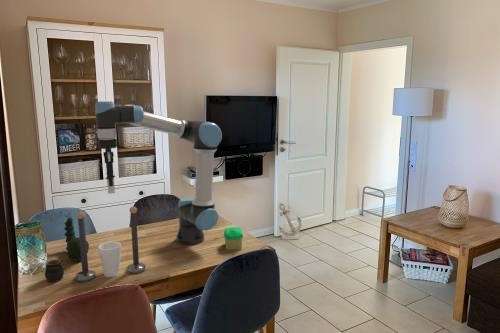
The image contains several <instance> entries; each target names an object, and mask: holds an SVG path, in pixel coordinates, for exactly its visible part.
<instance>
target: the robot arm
mask: <svg viewBox="0 0 500 333" xmlns="http://www.w3.org/2000/svg"><path fill="white" fill-rule="evenodd" d="M94 105H95V107H94V108H95V109H94V110H95V112H94V114H95V120H96V121H95V122H96V130H95V134H97V138H98V139H97V145H98V146H97V147H98V149H100V150H105V151H104V152H103V158H104V164H105V168H106V177H105V180H106V184H107V194H108V195H109V194H115V192H116V189H115V188H116V187H115V179H114V178H116V175H114V162H115V161H114V151H112V149H116V148H118V139H117V137H118V134H117V127H116V126H117V125H118V124H119V125H120V124H127V125H131V126H135V127H138V128H139V127H141V128H144V129H149V130H153V131H157V132H160V133H161V132H162V133H165V134H169V135H173V136H175V137H176V138H178V139H182V140H183V141H184V140H185V141H187V142H189V143H192V144H193V150H194V151H195V152H196V157H195V158H196V160H195V162H196V163H195V183H194V184H195V186H194V189H195V190H194V192H195V193H194V197H186V198H181V199H179V201H178V224H179V225H178V230H177V233H176V235H175V236H176V238H175V239H176V242H177V243H178V244H181V245H187V246H188V245H189V246H190V245H196V244H197V245H198V244H200V243H202V242H204V241H205V233H204V231H210V230H212V229H213V228H214V227H215V226H216V225H217V224H218V221H219V213H218V212H217V210H216V208H215V207H216V206H215V201H214V200H213V182H214V181H213V180H214V179H213V178H214V160H215V159H214V158H215V157H214V156H215V153H216V151H217V150H218V146H219V145H220V143H221V141H222V139H223V134H222V130H221V128H220V127H219V125H218V124H216V123H214V122H210V121H199V120H185V119H178V120H177V119H176V118H175V119H174V118H170V117H167V116H163V115H159V114H157V113H156V114H155V113H151V112H148V111H144V109H143V107H142V106H141V105H135V104H134V105H122V104H121V105H120V104H115V102H114V101H111V100H110V101H108V100H107V101H96V102H95V104H94Z"/></svg>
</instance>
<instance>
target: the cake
mask: <svg viewBox="0 0 500 333" xmlns="http://www.w3.org/2000/svg"><path fill="white" fill-rule="evenodd" d="M242 230H243V229H242V228H241V227H237V226H230V227H226V228H224V231H223V235H224V236H223V237H224V242H225V243H224V244H225V250H242V249H243V238H244V233H243V231H242Z"/></svg>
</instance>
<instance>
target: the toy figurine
mask: <svg viewBox="0 0 500 333" xmlns="http://www.w3.org/2000/svg"><path fill="white" fill-rule="evenodd" d="M73 222H74V220H73V218H72V217H68V218H66V221H65V222H64V223H63V224H64V226H65V227H64V228H63V229H64V231H65V233H64V236H65V237H66V238H65V242H66V247H65V250H66V251H67V252H66V255H67V256H68V257H69V258H74V261H75V262H81V250H80V238H79V236H78V237H77V236H76V231H75V226H74V223H73ZM86 247H87V254H89V249H90V244H89V242H88V241H87V239H86Z"/></svg>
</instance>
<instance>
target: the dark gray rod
mask: <svg viewBox="0 0 500 333" xmlns="http://www.w3.org/2000/svg"><path fill="white" fill-rule="evenodd" d="M85 217H86V214H85V212H84V211H78V212H77V213H76V218H77V221H78V222H77V223H78V237H79V238H80V250H81V261H80V262H81V271H82V273H83V274H87V273H88V270H89V262H88V253H87V247H86V240H87V238H86V237H87V236H86V225H85V224H86V223H85V222H86V221H85Z"/></svg>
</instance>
